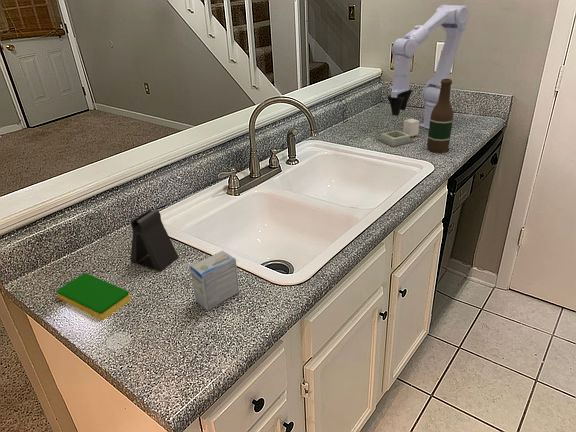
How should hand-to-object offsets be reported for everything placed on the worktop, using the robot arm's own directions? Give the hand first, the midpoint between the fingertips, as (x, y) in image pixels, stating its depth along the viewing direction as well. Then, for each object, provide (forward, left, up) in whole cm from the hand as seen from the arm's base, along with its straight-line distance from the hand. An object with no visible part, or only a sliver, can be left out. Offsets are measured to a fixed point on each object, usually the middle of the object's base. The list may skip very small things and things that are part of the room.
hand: (398, 112), depth 165 cm
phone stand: (+100, +36, -10) cm, 107 cm away
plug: (-5, +2, -10) cm, 11 cm away
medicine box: (+92, +56, -10) cm, 108 cm away
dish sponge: (+114, +43, -10) cm, 122 cm away
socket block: (+3, +3, -10) cm, 10 cm away
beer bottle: (-3, +18, -10) cm, 20 cm away
